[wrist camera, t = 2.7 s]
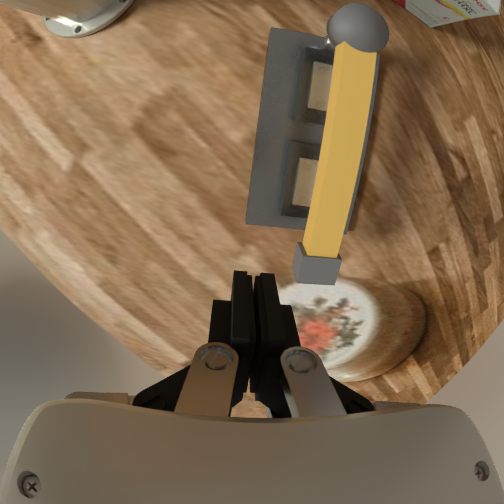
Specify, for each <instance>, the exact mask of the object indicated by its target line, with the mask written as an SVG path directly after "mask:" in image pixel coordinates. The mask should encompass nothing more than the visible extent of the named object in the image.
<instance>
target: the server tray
mask: <svg viewBox="0 0 504 504" xmlns="http://www.w3.org/2000/svg"><path fill="white" fill-rule="evenodd" d="M334 56H335V46H334V45H333V44H332V42H331V41H330V39H329V37H328V35H327V36H325V37H320V36H316V35H311V34H306V33H302V32H296V31H291V30H285V29H279V28H273V27H271V29H270V34H269V42H268V49H267V56H266V64H265V71H264V78H263V86H262V93H261V101H260V109H259V116H258V124H257V132H256V140H255V148H254V156H253V164H252V172H251V180H250V188H249V196H248V204H247V213H246V224H251V225H262V226H272V227H282V228H292V229H302V230H305V229H306V224H307V220H308V215H309V210H310V205H311V199H312V194H313V189H314V184H315V178H316V173H317V167H318V162H319V156H320V150H321V144H322V138H323V132H324V126H325V120H326V113H327V107H328V100H329V93H330V86H331V79H332V71H333V64H334ZM379 62H380V54H378V53H377V54H376V64H375V72H374V80H373V88H372V95H371V101H370V108H369V114H368V120H367V126H366V132H365V138H364V143H363V148H362V154H361V159H360V164H359V169H358V173H357V178H356V183H355V187H354V192H353V196H352V200H351V205H350V209H349V213H348V217H347V221H346V225H345V229H344V233H343V234H347V231H348V227H349V223H350V219H351V215H352V211H353V207H354V203H355V199H356V195H357V190H358V186H359V181H360V177H361V172H362V167H363V163H364V158H365V153H366V147H367V142H368V137H369V131H370V125H371V119H372V113H373V107H374V100H375V94H376V86H377V79H378V71H379Z"/></svg>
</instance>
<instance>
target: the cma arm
mask: <svg viewBox="0 0 504 504" xmlns="http://www.w3.org/2000/svg"><path fill="white" fill-rule="evenodd" d="M327 33H328V37H329V39H330V41H331V42H332V44H333V45H334V46H335V56H334V64H333V71H332V79H331V86H330V93H329V100H328V107H327V113H326V120H325V126H324V132H323V138H322V144H321V150H320V156H319V162H318V167H317V173H316V178H315V184H314V189H313V194H312V199H311V205H310V210H309V215H308V220H307V224H306V229H305V234H304V239H303V243H300V242H297V246H296V251H295V256H294V260H293V265H292V269H293V272H294V275H295V279H296V282H297V283H303V284H320V285H335V282H336V279H337V275H338V272H339V269H340V265H341V262H342V259H341V257H340V255H339V254H338V252H339V248H340V244H341V240H342V237H343V233H344V229H345V225H346V221H347V217H348V213H349V209H350V205H351V200H352V196H353V192H354V187H355V183H356V178H357V173H358V169H359V164H360V159H361V154H362V148H363V143H364V138H365V132H366V126H367V120H368V114H369V108H370V101H371V95H372V88H373V80H374V72H375V64H376V54H377V51H379V50H381V49H382V48H384V47H385V45H386V44H387V42H388V39H389V29H388V26H387V23H386V21H385V20H384V18H383V17H382V16H381V15H380V14H379V13H378V12H377V11H376V10H375V9H373V8H372V7H370V6H368V5H365V4H362V3H349V4H346V5H344V6H343V7H342V8H340V9H339V10H338V11H337V12H336V13H335V14H333V15H332V16H331V17H330V19H329V20H328V23H327Z"/></svg>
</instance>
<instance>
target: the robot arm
mask: <svg viewBox="0 0 504 504" xmlns="http://www.w3.org/2000/svg"><path fill="white" fill-rule="evenodd" d="M133 2H134V0H0V5H3V6H7V7H11V8H15V9H19V10H23V11H27V12H30V13H34V14H37V15H40V16H43V21H44V24H45V26H46V27H47V29H48V30H49V31H50V32H51V33H52V34H55V35H57V36H60V37H64V38H79V37H84V36H87V35H90V34H93V33H95V32H97V31H99V30H101V29H103V28H104V27H106V26H107V25H109V24H111V23H112V22H113V21H115V20H116V19H117V18H118V17H119V16H121V15H122V14H123V13H124V12H125V11H126V10H127V9H128V8H129V7H130V5H131V4H132V3H133ZM249 379H250V393H255V401H260V402H261V403H263V404H264V405H265V406H266V413H267V417H268V418H240V417H231V412H232V407H234V406H235V405H236V404H238V403H239V402H240V401H242V398H243V393H244V392H246V391H247V386H248V381H249ZM0 504H504V491H503V488H502V485H501V482H500V479H499V476H498V474H497V471H496V468H495V465H494V463H493V460H492V458H491V456H490V453H489V451H488V449H487V447H486V444H485V442H484V440H483V439H482V436H481V435H480V433H479V431H478V429H477V427H476V426H475V424H474V422H473V421H472V420H471V418H470V417H469V416H468V415H467V414H466V413H465V412H464V411H462V410H461V409H458V408H456V407H452V406H446V405H437V404H426V405H421V404H417V403H401V402H385V401H375V402H374V403H371V402H370V401H369V400H368V399H366V398H365V397H363V396H361V395H360V394H358V393H356V392H355V391H353V390H351V389H350V388H348V387H346V386H345V385H343V384H341V383H340V382H338V381H337V380H335V379H333V378H332V377H330V376H329V375H328V373H327V371H326V369H325V367H324V365H323V363H322V361H321V359H320V357H319V356H318V354H316V353H315V352H314V351H312V350H310V349H308V348H305V347H301V345H300V340H299V336H298V332H297V328H296V323H295V319H294V315H293V311H292V307H291V305H280V301H279V296H278V291H277V286H276V281H275V275H274V274H271V273H261V274H260V276H255V282H254V288H253V285H252V275H247V271H235V270H234V274H233V284H232V294H231V301H225V300H213V305H212V314H211V322H210V331H209V340H208V343H207V344H204V345H202V346H201V347H199V348H198V349H197V351H196V353H195V355H194V358H193V360H192V363H191V365H189V366H187V367H185V368H184V369H182V370H180V371H178V372H176V373H174V374H173V375H171V376H169V377H167V378H165V379H164V380H162V381H160V382H158V383H156V384H155V385H152V386H150V387H149V388H147V389H145V390H143V391H141V392H140V393H138V394H137V395H136V396H129V395H128V393H96V392H95V393H94V392H73V393H71V394H69V395H67V396H66V398H65V399H60V400H54V401H50V402H46V403H44V404H42V405H40V406H39V407H37V408H36V409H35V410H34V411H33V412H32V413H31V415H30V416H29V417H28V419H27V420H26V422H25V424H24V425H23V427H22V429H21V431H20V433H19V435H18V437H17V440H16V442H15V445H14V447H13V449H12V452H11V454H10V457H9V459H8V463H7V466H6V469H5V473H4V476H3V479H2V483H1V487H0Z"/></svg>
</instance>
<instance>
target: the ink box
mask: <svg viewBox="0 0 504 504" xmlns="http://www.w3.org/2000/svg"><path fill="white" fill-rule="evenodd" d="M393 1H394V2H396V3H397V4H399V5H401V6H402V7H403V8H405V9H406V10H408V11H409V12H411V13H412V14H413V15H415V16H416V17H418V18H419V19H420V20H422V21H423V22H424V23H425V24H427V25H428V26H429V27H431V28H433V27H436V26H441V25H445V24H449V23H453V22H458V21H463V20H468V19H474V18H480V17H486V16H493V15H499V14H500V7H501V0H393Z"/></svg>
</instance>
